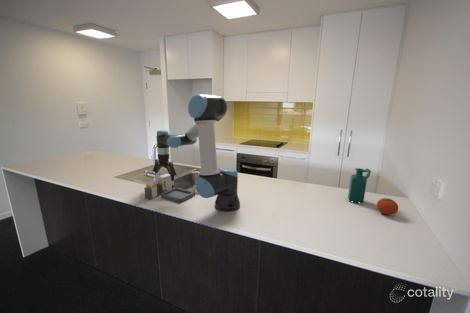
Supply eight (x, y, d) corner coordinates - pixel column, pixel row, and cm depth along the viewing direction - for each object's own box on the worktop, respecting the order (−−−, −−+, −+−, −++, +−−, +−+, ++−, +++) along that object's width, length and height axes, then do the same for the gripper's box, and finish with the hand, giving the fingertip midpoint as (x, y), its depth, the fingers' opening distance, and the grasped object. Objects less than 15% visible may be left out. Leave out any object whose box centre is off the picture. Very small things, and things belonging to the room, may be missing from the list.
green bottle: (349, 202, 140) (353, 169, 136) (347, 197, 148) (351, 166, 143) (366, 204, 137) (371, 171, 132) (363, 199, 145) (368, 168, 140)
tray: (195, 195, 146) (195, 192, 145) (180, 203, 134) (180, 199, 133) (176, 190, 154) (176, 187, 153) (161, 197, 142) (160, 193, 141)
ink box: (163, 194, 147) (162, 177, 145) (158, 192, 150) (157, 176, 147) (172, 190, 155) (171, 174, 152) (167, 189, 157) (166, 173, 155)
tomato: (371, 209, 130) (374, 194, 128) (388, 210, 130) (391, 194, 128) (382, 218, 120) (385, 201, 118) (401, 218, 120) (404, 201, 118)
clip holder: (174, 189, 156) (173, 174, 154) (150, 199, 138) (149, 183, 136) (169, 188, 159) (168, 173, 156) (145, 198, 141) (143, 181, 138)
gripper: (181, 154, 144) (182, 185, 149) (154, 150, 155) (156, 178, 160) (173, 156, 137) (174, 188, 142) (146, 152, 149) (148, 181, 154)
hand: (164, 183), depth 151 cm, fingers open, 13 cm apart
